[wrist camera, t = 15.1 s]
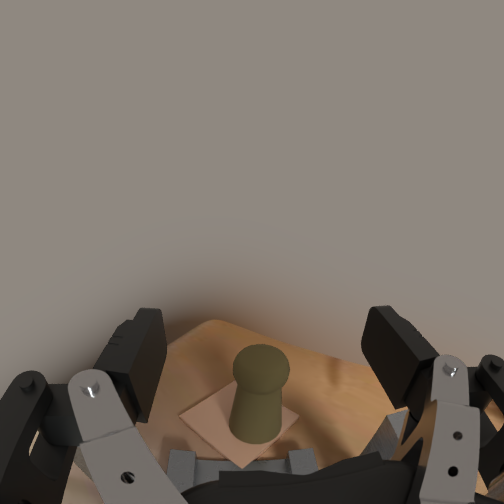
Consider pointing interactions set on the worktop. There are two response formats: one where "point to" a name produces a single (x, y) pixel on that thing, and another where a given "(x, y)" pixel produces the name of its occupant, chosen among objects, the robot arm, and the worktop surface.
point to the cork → (258, 393)
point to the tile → (217, 426)
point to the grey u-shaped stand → (297, 461)
